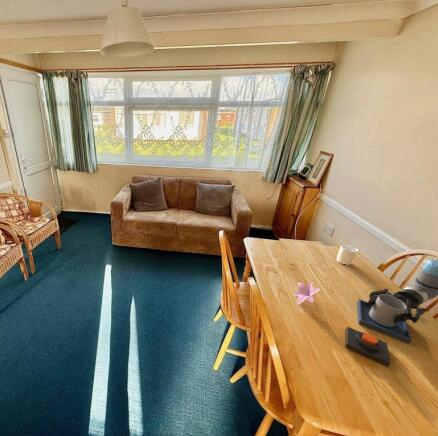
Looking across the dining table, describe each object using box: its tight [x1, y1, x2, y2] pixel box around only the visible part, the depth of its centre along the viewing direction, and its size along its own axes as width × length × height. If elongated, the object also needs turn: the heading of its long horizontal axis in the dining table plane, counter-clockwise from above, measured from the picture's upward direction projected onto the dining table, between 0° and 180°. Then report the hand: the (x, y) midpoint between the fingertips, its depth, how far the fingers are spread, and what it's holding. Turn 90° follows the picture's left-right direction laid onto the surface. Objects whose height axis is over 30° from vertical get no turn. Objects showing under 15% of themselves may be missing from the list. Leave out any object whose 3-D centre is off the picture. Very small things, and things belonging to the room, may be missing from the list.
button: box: [362, 332, 378, 346], centre depth 86 cm, size 4×4×2 cm
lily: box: [293, 281, 321, 306], centre depth 109 cm, size 12×12×10 cm
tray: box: [356, 298, 412, 345], centre depth 98 cm, size 15×15×2 cm
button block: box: [344, 326, 391, 368], centre depth 87 cm, size 12×10×4 cm
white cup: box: [336, 244, 359, 266], centre depth 136 cm, size 8×8×10 cm
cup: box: [369, 294, 407, 327], centre depth 96 cm, size 8×8×10 cm
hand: (381, 311), depth 94 cm, fingers closed on cup, 8 cm apart
